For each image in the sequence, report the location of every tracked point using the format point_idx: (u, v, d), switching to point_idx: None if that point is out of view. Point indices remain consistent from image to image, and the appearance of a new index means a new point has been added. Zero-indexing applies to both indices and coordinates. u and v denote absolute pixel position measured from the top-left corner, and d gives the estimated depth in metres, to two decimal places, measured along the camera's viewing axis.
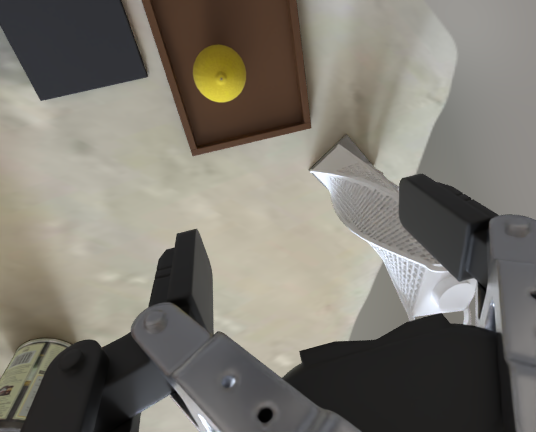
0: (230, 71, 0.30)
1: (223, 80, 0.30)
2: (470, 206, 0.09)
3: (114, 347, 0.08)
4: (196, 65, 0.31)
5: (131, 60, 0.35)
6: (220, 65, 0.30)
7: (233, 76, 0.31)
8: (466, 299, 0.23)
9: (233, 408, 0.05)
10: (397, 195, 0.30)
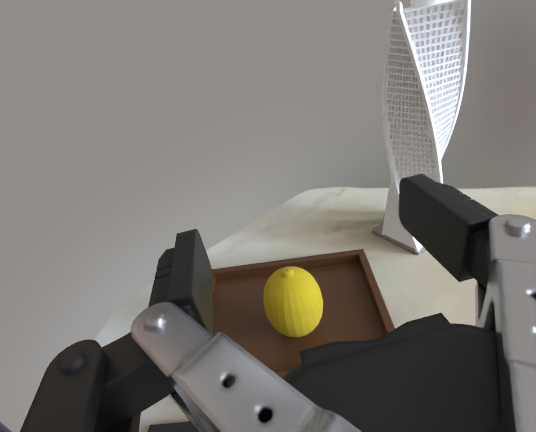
0: (283, 268, 0.29)
1: (288, 269, 0.28)
2: (470, 206, 0.09)
3: (114, 347, 0.08)
4: (275, 308, 0.27)
5: None
6: (275, 275, 0.28)
7: (288, 267, 0.29)
8: None
9: (233, 408, 0.05)
10: (383, 110, 0.34)
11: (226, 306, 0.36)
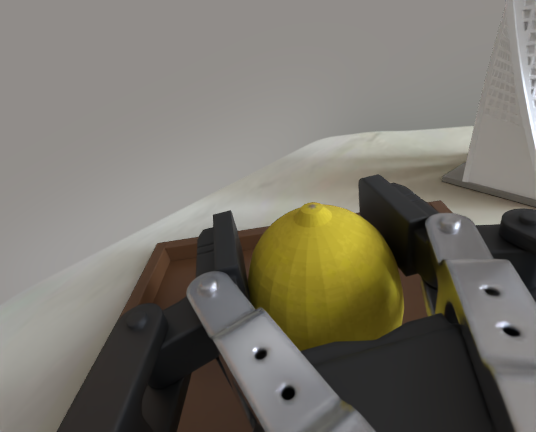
0: (299, 208, 0.11)
1: (316, 203, 0.10)
2: (414, 205, 0.10)
3: (169, 311, 0.09)
4: (280, 313, 0.09)
5: None
6: (280, 224, 0.10)
7: None
8: None
9: (260, 379, 0.05)
10: None
11: None
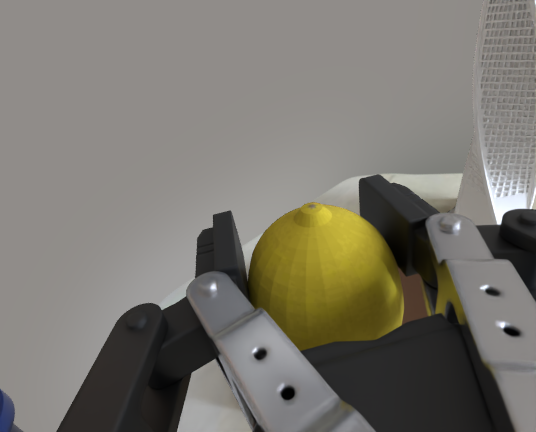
0: (299, 208, 0.11)
1: (316, 203, 0.10)
2: (414, 205, 0.10)
3: (169, 311, 0.09)
4: (280, 313, 0.09)
5: None
6: (280, 224, 0.10)
7: None
8: None
9: (260, 379, 0.05)
10: (474, 76, 0.29)
11: None
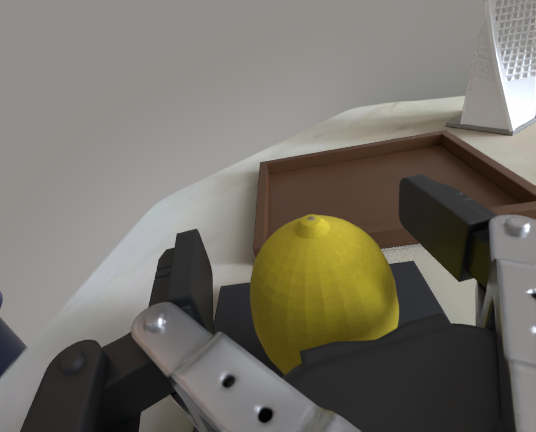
0: (299, 218, 0.12)
1: (315, 215, 0.11)
2: (470, 206, 0.09)
3: (114, 347, 0.08)
4: (281, 320, 0.10)
5: None
6: (281, 234, 0.11)
7: None
8: None
9: (233, 408, 0.05)
10: None
11: (288, 190, 0.30)
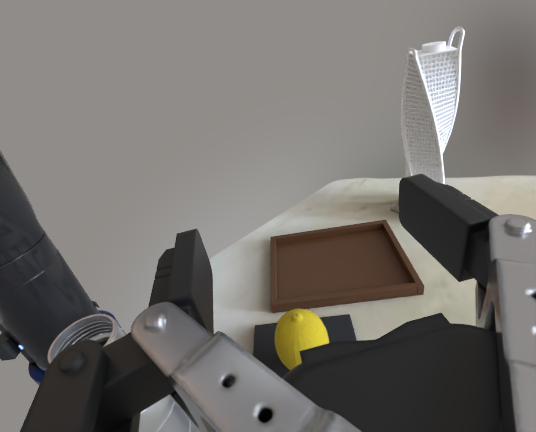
0: (292, 311, 0.32)
1: (298, 313, 0.31)
2: (470, 206, 0.09)
3: (114, 347, 0.08)
4: (286, 350, 0.30)
5: (335, 322, 0.39)
6: (286, 318, 0.31)
7: (297, 310, 0.32)
8: (434, 42, 0.43)
9: (233, 408, 0.05)
10: (401, 119, 0.48)
11: (288, 260, 0.51)
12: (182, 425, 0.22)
